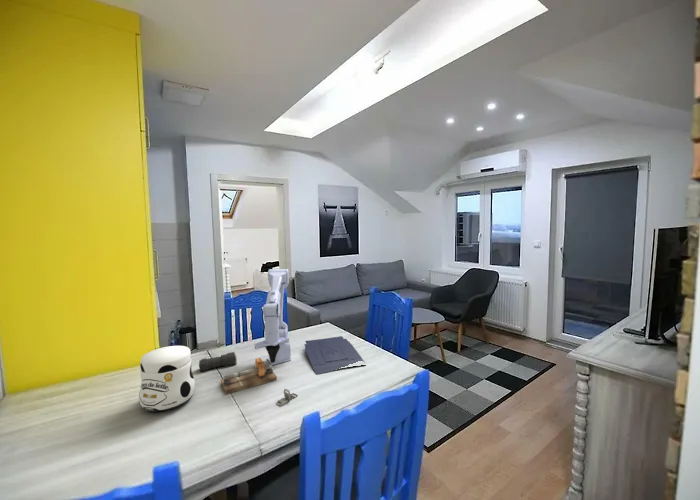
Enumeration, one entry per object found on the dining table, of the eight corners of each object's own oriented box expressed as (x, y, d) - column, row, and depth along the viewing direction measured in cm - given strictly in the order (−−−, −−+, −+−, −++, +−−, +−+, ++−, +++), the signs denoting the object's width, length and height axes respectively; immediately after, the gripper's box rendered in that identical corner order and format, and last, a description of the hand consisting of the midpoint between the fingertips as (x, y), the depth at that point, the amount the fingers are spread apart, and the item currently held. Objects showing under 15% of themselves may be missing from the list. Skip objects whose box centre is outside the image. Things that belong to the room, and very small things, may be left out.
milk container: (135, 422, 97) (132, 369, 96) (143, 395, 112) (141, 349, 111) (195, 407, 105) (193, 358, 104) (195, 384, 120) (193, 341, 119)
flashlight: (200, 374, 129) (199, 362, 129) (198, 369, 134) (198, 357, 134) (236, 365, 138) (236, 353, 137) (234, 360, 142) (234, 349, 142)
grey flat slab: (344, 340, 165) (345, 334, 165) (366, 370, 138) (367, 363, 137) (301, 346, 157) (301, 339, 156) (315, 380, 129) (315, 372, 129)
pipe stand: (269, 370, 133) (269, 359, 132) (276, 379, 124) (276, 368, 124) (221, 382, 122) (220, 370, 122) (225, 394, 114) (225, 381, 113)
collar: (260, 369, 128) (260, 357, 128) (264, 375, 123) (264, 363, 123) (255, 370, 127) (255, 358, 127) (259, 376, 122) (259, 364, 122)
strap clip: (280, 407, 106) (280, 396, 105) (275, 404, 108) (275, 393, 107) (298, 396, 113) (298, 386, 112) (292, 394, 114) (292, 383, 114)
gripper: (257, 337, 120) (258, 369, 121) (291, 330, 128) (291, 361, 129) (252, 331, 126) (253, 363, 127) (285, 325, 133) (286, 355, 134)
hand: (272, 361), depth 128 cm, fingers closed
